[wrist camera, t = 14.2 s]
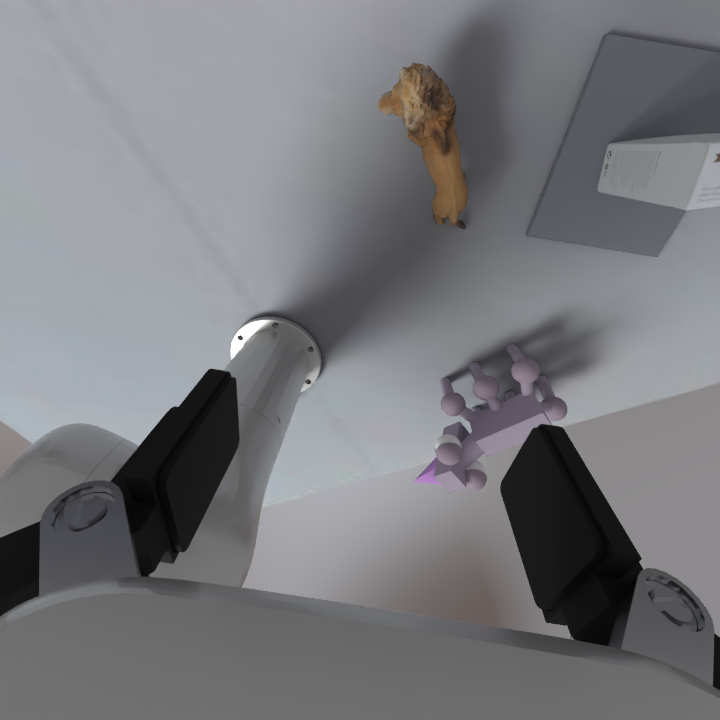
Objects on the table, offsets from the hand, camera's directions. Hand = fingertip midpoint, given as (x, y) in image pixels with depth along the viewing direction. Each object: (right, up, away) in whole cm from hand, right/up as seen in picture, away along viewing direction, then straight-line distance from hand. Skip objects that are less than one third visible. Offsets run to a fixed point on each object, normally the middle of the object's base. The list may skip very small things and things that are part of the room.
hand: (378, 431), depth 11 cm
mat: (+25, +21, +22) cm, 40 cm away
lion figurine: (+6, +22, +23) cm, 33 cm away
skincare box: (+25, +21, +22) cm, 39 cm away
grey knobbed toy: (+15, -2, +39) cm, 41 cm away
